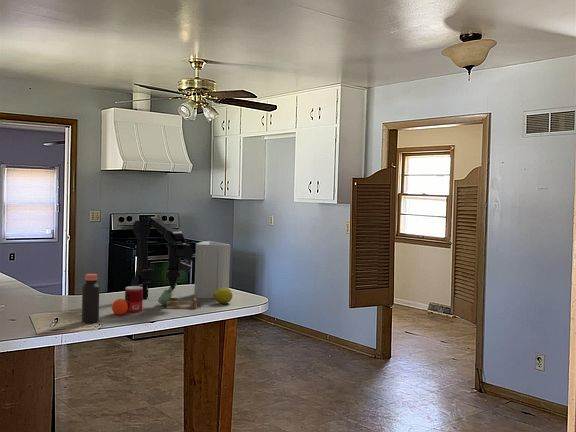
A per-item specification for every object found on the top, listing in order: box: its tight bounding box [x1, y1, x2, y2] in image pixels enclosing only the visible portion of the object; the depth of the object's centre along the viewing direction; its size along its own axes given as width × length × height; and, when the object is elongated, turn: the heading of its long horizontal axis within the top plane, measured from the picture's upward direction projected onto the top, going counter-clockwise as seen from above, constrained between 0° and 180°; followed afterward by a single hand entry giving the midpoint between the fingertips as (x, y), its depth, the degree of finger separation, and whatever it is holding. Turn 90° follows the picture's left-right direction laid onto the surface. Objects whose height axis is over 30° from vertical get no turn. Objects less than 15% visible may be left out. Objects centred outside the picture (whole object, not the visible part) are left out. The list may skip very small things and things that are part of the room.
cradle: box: [165, 295, 198, 310], centre depth 290 cm, size 14×13×4 cm
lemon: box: [213, 288, 233, 305], centre depth 299 cm, size 11×8×8 cm
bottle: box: [157, 283, 178, 307], centre depth 288 cm, size 4×4×12 cm
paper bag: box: [193, 240, 231, 299], centre depth 317 cm, size 19×15×28 cm
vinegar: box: [81, 273, 100, 324], centre depth 250 cm, size 7×7×20 cm
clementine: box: [111, 298, 129, 316], centre depth 266 cm, size 8×7×7 cm
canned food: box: [124, 285, 144, 314], centre depth 274 cm, size 8×8×11 cm
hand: (173, 288), depth 289 cm, fingers closed on bottle, 2 cm apart
